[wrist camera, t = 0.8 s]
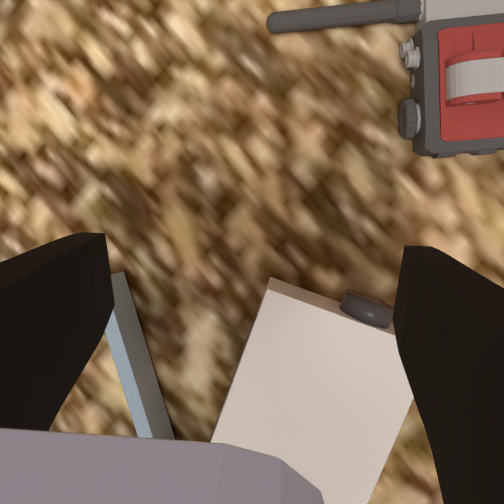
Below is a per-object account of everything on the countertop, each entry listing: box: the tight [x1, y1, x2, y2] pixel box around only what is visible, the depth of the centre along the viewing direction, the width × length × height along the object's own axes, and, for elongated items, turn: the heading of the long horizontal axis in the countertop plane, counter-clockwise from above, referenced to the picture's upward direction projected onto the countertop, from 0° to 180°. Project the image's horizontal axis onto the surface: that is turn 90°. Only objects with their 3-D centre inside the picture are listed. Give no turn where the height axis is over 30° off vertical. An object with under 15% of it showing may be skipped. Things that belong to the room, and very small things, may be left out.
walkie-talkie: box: [267, 0, 504, 158], centre depth 24 cm, size 9×4×20 cm
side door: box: [105, 271, 175, 440], centre depth 27 cm, size 13×2×3 cm, turn 15°
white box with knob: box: [209, 277, 414, 504], centre depth 27 cm, size 15×9×4 cm, turn 160°
